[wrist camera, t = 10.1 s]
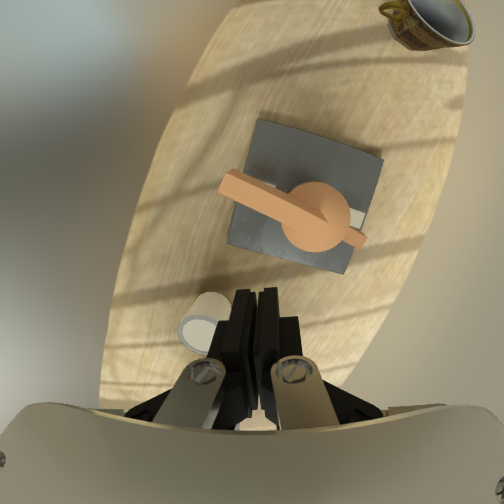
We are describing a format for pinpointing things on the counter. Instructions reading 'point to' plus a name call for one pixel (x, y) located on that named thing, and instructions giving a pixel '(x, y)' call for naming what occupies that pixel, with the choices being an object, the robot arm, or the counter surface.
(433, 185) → the counter surface
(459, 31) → the ceramic cup
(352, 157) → the grey plate with posts
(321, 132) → the counter surface
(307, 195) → the orange lever handle
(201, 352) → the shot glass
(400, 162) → the counter surface
